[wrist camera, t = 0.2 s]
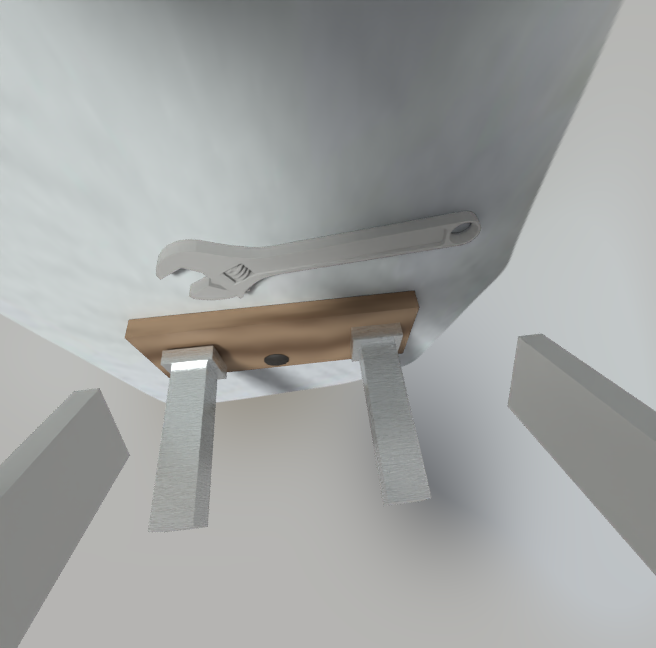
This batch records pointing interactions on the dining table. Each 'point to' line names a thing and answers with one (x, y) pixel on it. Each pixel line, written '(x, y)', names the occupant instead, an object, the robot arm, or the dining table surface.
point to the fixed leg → (390, 414)
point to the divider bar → (274, 330)
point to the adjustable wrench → (306, 253)
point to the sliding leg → (186, 440)
